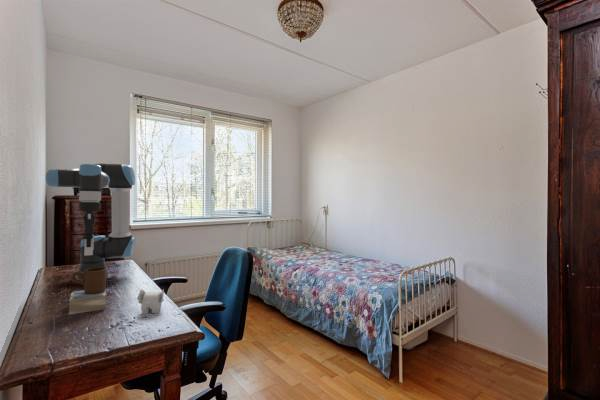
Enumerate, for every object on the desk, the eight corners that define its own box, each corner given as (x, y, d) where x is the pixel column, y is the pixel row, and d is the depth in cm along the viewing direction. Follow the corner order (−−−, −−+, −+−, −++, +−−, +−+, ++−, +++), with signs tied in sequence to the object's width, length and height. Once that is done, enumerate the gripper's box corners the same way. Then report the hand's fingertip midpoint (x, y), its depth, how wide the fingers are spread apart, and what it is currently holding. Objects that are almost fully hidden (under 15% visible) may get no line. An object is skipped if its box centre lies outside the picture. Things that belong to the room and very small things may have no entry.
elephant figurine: (168, 305, 131) (168, 284, 131) (160, 315, 119) (161, 292, 119) (144, 305, 129) (145, 285, 129) (134, 316, 117) (134, 293, 117)
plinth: (71, 305, 128) (72, 291, 128) (105, 300, 135) (105, 287, 135) (69, 314, 118) (69, 299, 118) (105, 309, 124) (105, 294, 124)
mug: (69, 297, 120) (69, 273, 120) (72, 291, 127) (73, 269, 127) (105, 293, 126) (105, 270, 126) (106, 288, 133) (106, 266, 133)
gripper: (80, 200, 135) (79, 248, 135) (76, 202, 114) (75, 258, 114) (100, 201, 139) (100, 247, 139) (100, 202, 118) (99, 256, 118)
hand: (89, 252), depth 126 cm, fingers open, 13 cm apart
